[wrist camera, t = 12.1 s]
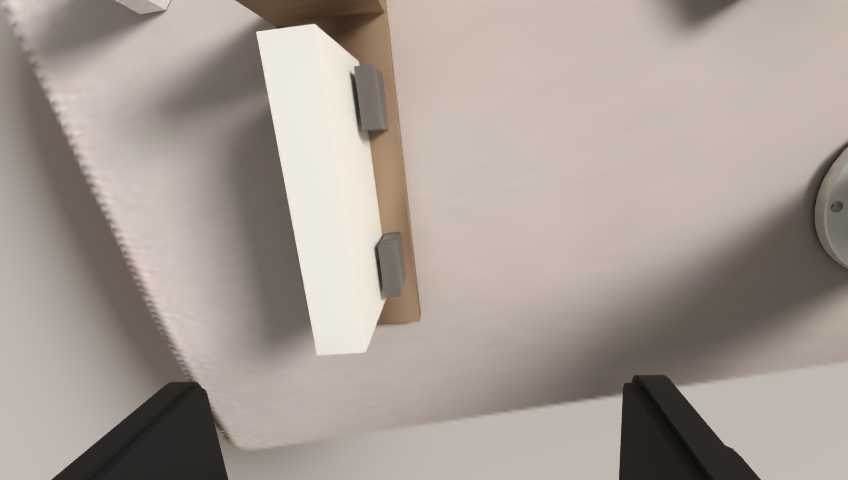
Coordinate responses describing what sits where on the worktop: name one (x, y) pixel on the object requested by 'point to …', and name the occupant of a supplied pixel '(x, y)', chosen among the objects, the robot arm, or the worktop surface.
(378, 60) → the cabinet base
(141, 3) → the pepper shaker
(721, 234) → the worktop surface
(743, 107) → the worktop surface
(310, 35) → the door panel
